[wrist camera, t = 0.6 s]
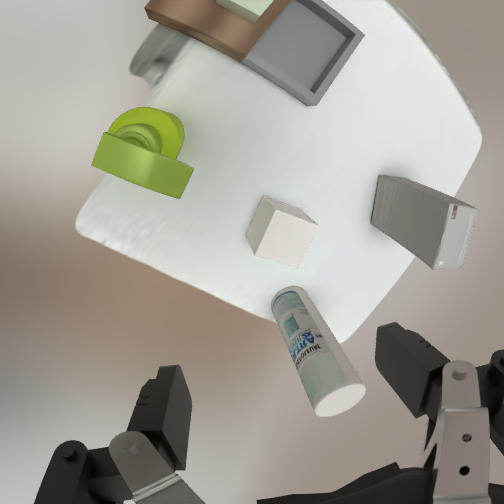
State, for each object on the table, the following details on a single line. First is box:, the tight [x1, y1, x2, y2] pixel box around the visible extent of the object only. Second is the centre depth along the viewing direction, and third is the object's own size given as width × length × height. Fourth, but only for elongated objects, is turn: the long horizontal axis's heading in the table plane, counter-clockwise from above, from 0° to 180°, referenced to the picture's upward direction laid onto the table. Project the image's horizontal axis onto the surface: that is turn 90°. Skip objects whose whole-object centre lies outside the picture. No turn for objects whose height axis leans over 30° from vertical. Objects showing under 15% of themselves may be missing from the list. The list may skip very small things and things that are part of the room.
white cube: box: [245, 195, 319, 268], centre depth 36 cm, size 6×6×6 cm
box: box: [241, 0, 365, 106], centre depth 27 cm, size 10×13×3 cm
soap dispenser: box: [92, 107, 194, 199], centre depth 22 cm, size 6×7×20 cm
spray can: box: [272, 286, 366, 417], centre depth 36 cm, size 6×6×20 cm
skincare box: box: [371, 175, 478, 270], centre depth 33 cm, size 8×7×16 cm
